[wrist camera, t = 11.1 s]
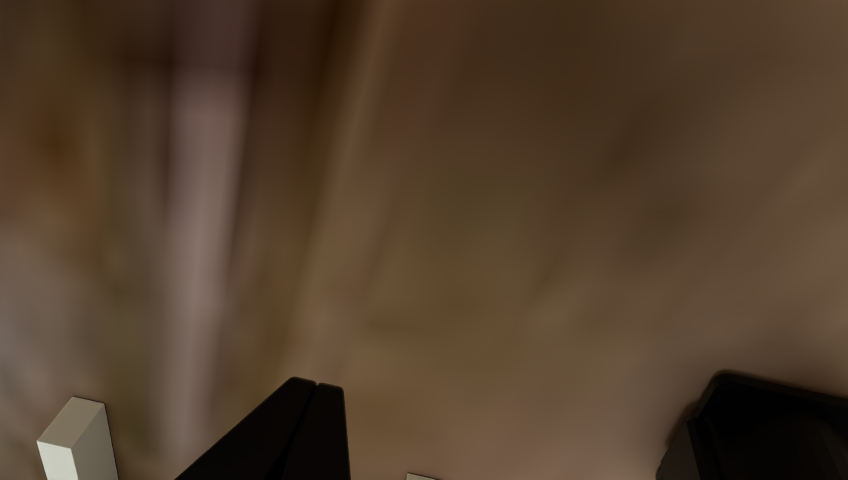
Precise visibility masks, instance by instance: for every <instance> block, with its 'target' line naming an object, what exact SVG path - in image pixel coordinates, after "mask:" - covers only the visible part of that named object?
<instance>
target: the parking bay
mask: <svg viewBox="0 0 848 480" xmlns="http://www.w3.org/2000/svg"><path fill="white" fill-rule="evenodd" d="M37 444H38V448H39V451H40V455H41V458H42V462H43V465H44V468H45V472H46V475H47V479H48V480H118V475H117V470H116V464H115V459H114V453H113V448H112V443H111V437H110V432H109V426H108V421H107V416H106V410H105V405H104V404H103V403H99V402H95V401H90V400H86V399H81V398H77V397H73V396H72V397H71V399H70V400H69V401H68V402H67V404H66V405H65V406H64V407H63V409H62V410H61V411H60V412H59V414H58V415H57V416H56V417H55V419H54V420H53V421H52V422H51V424H50V425H49V426H48V427H47V429H46V430H45V431H44V432H43V434H42V435H41V436H40V437H39V438H38V440H37ZM406 480H435V479H431V478H426V477H422V476H418V475H413V474H409V473H407V478H406Z"/></svg>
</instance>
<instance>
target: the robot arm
mask: <svg viewBox="0 0 848 480" xmlns="http://www.w3.org/2000/svg"><path fill="white" fill-rule="evenodd" d="M727 387H731V388H729V389H724V388H727ZM661 463H662V466H661V468H660V469H659V471H658V473H657V475H656V480H848V400H847V399H843V398H838V397H834V396H829V395H824V394H820V393H815V392H811V391H806V390H802V389H797V388H793V387H788V386H784V385H779V384H774V383H770V382H765V381H761V380H756V379H752V378H747V377H743V376H738V375H734V374H723V375H719V376H717V377H715V379H714V380H713V381H712V382H711V384H710V386H709V387H708V389H707V391H706V392H705V394H704V396H703V397H702V399H701V401H700V402H699V404H698V406H697V407H696V409H695V411H694V412H693V414H692V416H691V417H689V418H688V419H687V420H686V421H684V423H683V425H682V426H681V428H680V430H679V431H678V433H677V435H676V437H675V438H674V440H673V442H672V443H671V445H670V447H669V448H668V450H667V452H666V453H665V455H664V457H663V459H662V461H661ZM174 480H351V475H350V462H349V450H348V437H347V425H346V413H345V400H344V391H343V389H342V388H341V387H339V386H335V385H330V384H326V383H319V384H318V385H317V383H316V382H315V381H313V380H308V379H304V378H299V377H291V378H289V379H288V380H287V381H286V382H285V383H284V384H282V385H281V386H280V387H279V388H278V389H277V390H276V391H274V392H273V393H272V394H271V395H270V396H269V397H268V398H266V399H265V400H264V401H263V402H262V403H261V404H260V405H259V406H257V407H256V408H255V409H254V410H253V411H252V412H251V413H249V414H248V415H247V416H246V417H245V418H244V419H243V420H241V421H240V422H239V423H238V424H237V425H236V426H235V427H234V428H232V429H231V430H230V431H229V432H228V433H227V434H226V435H224V436H223V437H222V438H221V439H220V440H219V441H218V442H216V443H215V444H214V445H213V446H212V447H211V448H210V449H209V450H207V451H206V452H205V453H204V454H203V455H202V456H201V457H199V458H198V459H197V460H196V461H195V462H194V463H193V464H191V465H190V466H189V467H188V468H187V469H186V470H185V471H184V472H182V473H181V474H180V475H179V476H178V477H177V478H176V479H174Z"/></svg>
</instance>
